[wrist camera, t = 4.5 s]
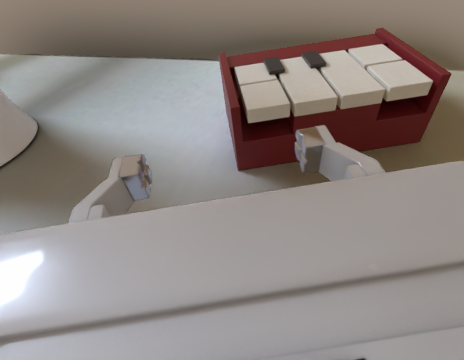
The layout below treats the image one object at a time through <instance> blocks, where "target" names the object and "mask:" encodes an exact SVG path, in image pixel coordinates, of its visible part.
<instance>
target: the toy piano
mask: <svg viewBox="0 0 464 360" xmlns="http://www.w3.org/2000/svg"><path fill="white" fill-rule="evenodd" d="M403 60H406V61H407V62H408V63H410V64H411V65H412V66H414V67H415V68H417V69H418V70H419V71H421V72H422V73H423V74H425V75H426V76H427V77H429V78H430V79H431V80H433V83H432V85H431V88H430V90H429V92H428V94H427V95H425V96H418V97H412V98H406V99H399V100H393V101H385V100H384V98H383V96H384V93H385V88H384V87H383V86H382V85H381V84H380V83H378V82H377V81H376V80H375V79H374V78H373V77H372V76H371V75H370V74H369V73H368V72H367V71H366V70H367V67H368V66H371V65H377V64H384V63H390V62H396V61H403ZM219 61H220V69H221V76H222V83H223V91H224V98H225V105H226V112H227V117H228V122H229V127H230V132H231V137H232V142H233V147H234V152H235V157H236V162H237V167H238V170H245V169H251V168H257V167H264V166H270V165H276V164H282V163H289V162H295V161H299V160H297V158H296V155H295V149H294V145H295V142H296V141H297V140H296V137H295V132H296V130H299V129H305V128H311V127H315V126H321V125H325V126H326V127H327V129H328V130H329V132H330V134H331V135H332V137H333V138H334V140H335V142H336V143H338V142H339V143H341V144H343V145H346V146H348V147H350V148H352V149H354V150H356V151H364V150H370V149H377V148H383V147H389V146H395V145H402V144H408V143H414V142H420V140H421V138H422V136H423V134H424V132H425V129H426V127H427V125H428V123H429V121H430V119H431V117H432V114H433V112H434V110H435V108H436V106H437V104H438V102H439V100H440V97H441V95H442V93H443V91H444V89H445V87H446V85H447V83H448V80H449V78H450V76H451V73H450V72H448V71H447V70H445V69H444V68H442V67H441V66H439V65H438V64H436V63H435V62H433V61H432V60H430V59H429V58H427V57H426V56H424V55H423V54H421V53H420V52H418V51H417V50H415V49H414V48H412V47H411V46H409V45H408V44H406V43H405V42H403V41H402V40H400V39H399V38H397V37H396V36H394V35H393V34H391V33H390V32H388V31H387V30H385V29H384V28H379V29H376V32H375V34H370V35H364V36H357V37H352V38H345V39H339V40H332V41H325V42H319V43H312V44H306V45H300V46H294V47H287V48H280V49H274V50H268V51H261V52H254V53H249V54H242V55H235V56H229V57H226V53H219ZM275 80H278V81H279V83H280V85H281V86H282V88H283V90H284V92H285V94H286V96H287V98H288V100H289V102H290V116H289V117H285V118H279V119H273V120H266V121H260V122H254V123H248V121H247V118H246V114H245V111H244V107H243V103H242V100H241V92H240V86H243V85H249V84H256V83H262V82H268V81H275Z"/></svg>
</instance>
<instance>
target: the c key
mask: <svg viewBox="0 0 464 360" xmlns="http://www.w3.org/2000/svg"><path fill="white" fill-rule="evenodd" d="M240 92H241V100H242V103H243V107H244V111H245V114H246V118H247V121H248V123H254V122H260V121H266V120H273V119H279V118H285V117H289V116H290V102H289V100H288V98H287V96H286V94H285V92H284V90H283V88H282V86H281V85H280V83H279V81H278V80H275V81H268V82H262V83H256V84H249V85H243V86H240Z"/></svg>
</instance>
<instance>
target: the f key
mask: <svg viewBox="0 0 464 360" xmlns="http://www.w3.org/2000/svg"><path fill="white" fill-rule="evenodd" d="M366 71H367V72H368V73H369V74H370V75H371V76H372V77H373V78H374V79H375V80H376V81H377V82H378V83H380V84H381V85H382V86H383V87H384V88H385V93H384V96H383V98H384V100H385V101H393V100H399V99H406V98H412V97H418V96H425V95H427V94H428V92H429V90H430V88H431V85H432V83H433V80H431V79H430V78H429V77H427V76H426V75H425V74H423V73H422V72H421V71H419V70H418V69H417V68H415V67H414V66H412V65H411V64H410V63H408V62H407V61H406V60H403V61H396V62H390V63H384V64H377V65H371V66H368V67H367V70H366Z"/></svg>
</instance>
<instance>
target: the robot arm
mask: <svg viewBox="0 0 464 360" xmlns="http://www.w3.org/2000/svg"><path fill="white" fill-rule="evenodd" d="M37 129H38V126H37V123H36V121H35V120H34V119H32V118H31V117H30V116H29V115H27V114H26V113H25V112H24V111H22V110H21V109H20V108H19V107H18V106H17V105H16V104H15V103H14V102H13V101H12V100H10V99H9V98H8V97H7V96H6V95H5V94H4V93H3V92H2V90H1V89H0V166H2V165H3V164H5V163H7V162H8V161H10V160H11V159H13V158H14V157H15V156H17V155H18V154H19V153H20V152H21V151H23V150H24V149H25V148H26V147H27V146H28V145H29V144H30V142H31V141H32V140H33V138H34V137H35V135H36V133H37ZM295 137H296V140H297V141H296V142H295V145H294V149H295V155H296V158H297V160H299V161H300V167H301V170H302V172H303V174H304V173H312V172H319V173H321V174H322V175H323V176H325V177H326V178H327V179H329V180H330V182H324V183H317V184H311V185H305V186H299V187H292V188H286V189H280V190H274V191H267V192H261V193H255V194H249V195H242V196H236V197H230V198H223V199H217V200H211V201H205V202H198V203H192V204H186V205H180V206H173V207H167V208H161V209H154V210H148V211H142V212H136V213H129V214H126V212H127V211H128V209H129V208H130V207H131V205H132V204H133V203H134V201H137V200H142V199H148V198H150V191H151V188H150V186H149V185H150V184H151V183H152V175H151V171H150V168H149V166H148V165H146V159H145V156H144V155H143V154H139V155H132V156H125V157H118V158H114V159H113V161H112V165H111V168H110V172H109V176H108V179H105V180H104V181H103V182H102V183H100V184H99V185H98V186H97V187H96V188H95V189H94V190H93V191H92V192H90V193H89V194H88V195H87V196H86V197H85V198H84V199H83V200H82V201H81V202H79V203H78V204H77V205H76V206H75V207H74V208H73V209H72V212H71V215H70V218H69V220H68V223H67V224H61V225H54V226H48V227H42V228H36V229H29V230H23V231H17V232H10V233H3V234H0V360H464V161H455V162H448V163H442V164H436V165H430V166H423V167H417V168H411V169H405V170H399V171H392V172H385V170H384V169H383V168H382V166H381V165H380V164H379V162H378V161H377V160H376V159H373V158H371V157H369V156H367V155H365V154H363V153H361V152H358V151H356V150H354V149H352V148H350V147H348V146H346V145H343V144H341V143H339V142H338V143H336V142H335V140H334V138H333V137H332V135H331V134H330V132H329V130H328V129H327V127H326V126H325V125H321V126H315V127H311V128H305V129H299V130H296V132H295Z"/></svg>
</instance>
